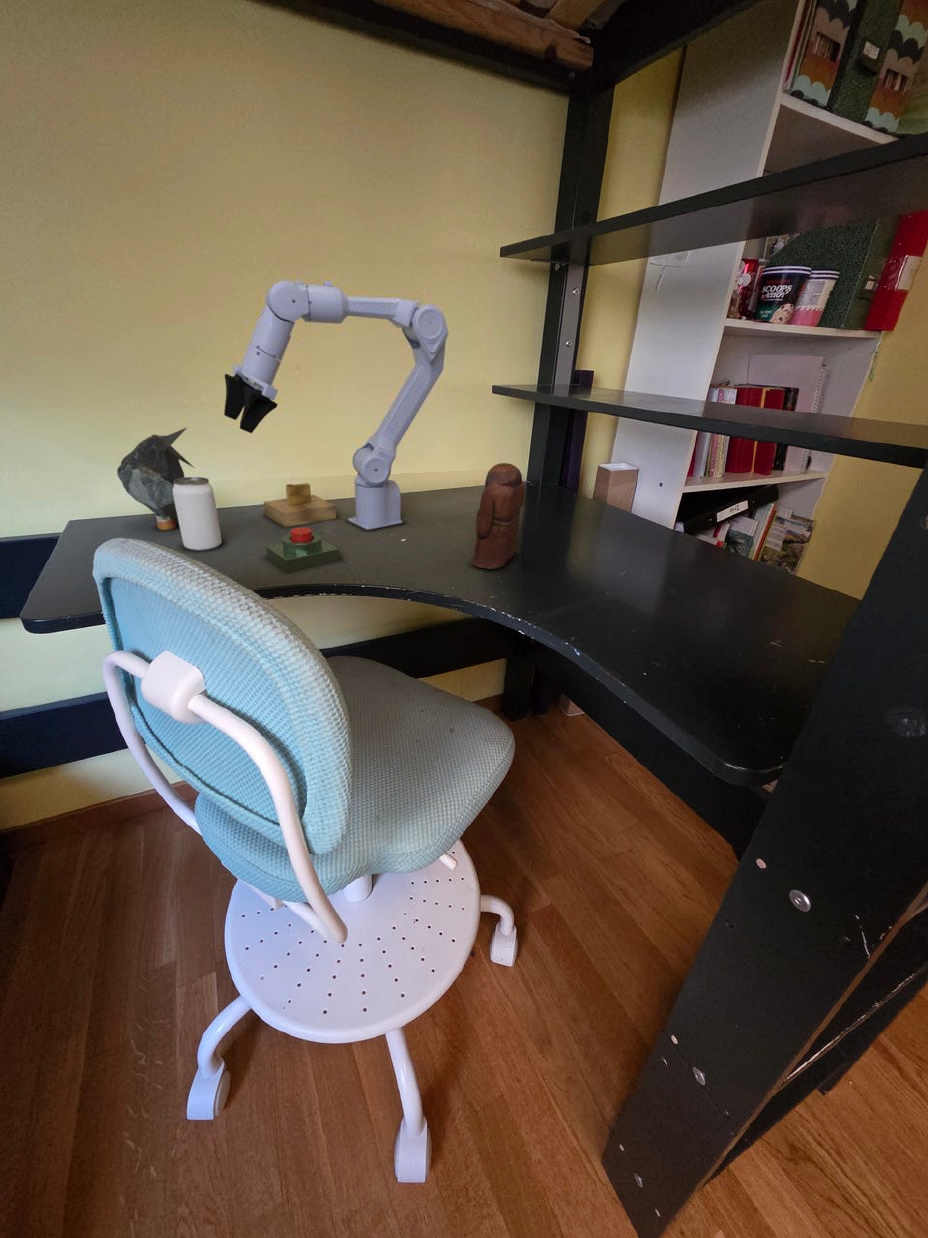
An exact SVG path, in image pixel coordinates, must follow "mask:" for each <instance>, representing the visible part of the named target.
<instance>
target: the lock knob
mask: <svg viewBox="0 0 928 1238" xmlns="http://www.w3.org/2000/svg"><path fill="white" fill-rule="evenodd" d="M311 491H312V490H311V484H310V483H309V482H303V483H297V484H292V483H289V484H286V485H285V493H286V499H287V504H289V505H297V504H304V503H311V495H312V492H311Z"/></svg>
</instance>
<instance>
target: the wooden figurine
mask: <svg viewBox="0 0 928 1238" xmlns="http://www.w3.org/2000/svg"><path fill="white" fill-rule="evenodd" d="M525 487H526V486H525V484H524V481H523V476H522V473H521V471H520V469H519V468H518V467H517V466H516V465H514V464H513V463H508V462H506V463H505V462H500V463H497V464H495V465H493V466H492V467H490V469H488V472H487V474H486V477H485V481H484V490H483V491H482V494H481V498H480V503H479V508H478V509H477V511H476V517H475V519H476V520H475V532H476V539H475V545H474V549H473V550H474V555H473V559H472V563H473V566H474V567H477V568H481V569H487V570H496V569H500V568H503V566H505V565H506V564H507V563H508V561H510V560H511V559H512V558H513V557H514V556H515V553H516V545H517V542H518V536H519V530H520V529H519V528H520V515H521V509H522V507H523V506H524V503H525V495H526V494H525V491H526V489H525Z"/></svg>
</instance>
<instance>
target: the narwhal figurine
mask: <svg viewBox="0 0 928 1238" xmlns="http://www.w3.org/2000/svg"><path fill="white" fill-rule="evenodd" d="M186 430H187V427H185V428H182V429H180V430H177V431H175V432H172V433H170V434H168V435H159V434H152V435H151V436H148V437H146V438H145V439H143V440H141V441H140V442H139V443H137V445H136V446H135V447H134V449H132V451H131V452H129V453H127V455H125V456H124V457H123V458H122V459H121V462H120V465H119V466H118V467H117V477H118V479H119V480H120V482H121V484H122V487H123V489H124V491H125V492H126V493H127V494H128V495H129V496H131V498H133V499H134V500H135V501H136V502H137V503H140V504H141V505H143V506H145V507H146V508H148V509H149V510H150V511H151V512H152V513H154V514H155V518H156V526H157V529H158V530H162V531H169V530H174V529H176V528H177V525H178V524H179V521H178V516H177V511H176V507H175V502H174V497H173V487H174V482H173V481H174V480H175V479H179V478H184V477H186V476H185V472H184V470H183V467H182V465H181V463H180V461H181V462H182V463H185V464H187V465H188V466H190V467H191V468H194V466H193V465H192V464H191V463H190V462H189V461H188V460H187V459H186V458H185V457H184V456H183V455H182V454H180V452H178V451H177V450H176V449H175V448H174V447H173V446H172V445H173V443H175V442H176V440H178V438H179V437H180V436H181V435H182V434H183V433H184V432H185V431H186Z"/></svg>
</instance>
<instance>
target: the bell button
mask: <svg viewBox="0 0 928 1238" xmlns="http://www.w3.org/2000/svg"><path fill="white" fill-rule="evenodd" d="M289 533H291V541H295V542H306V541H311V540H312V533H313V531H312V529H311V528H309V527H295V528H292V529H290V532H289Z"/></svg>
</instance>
